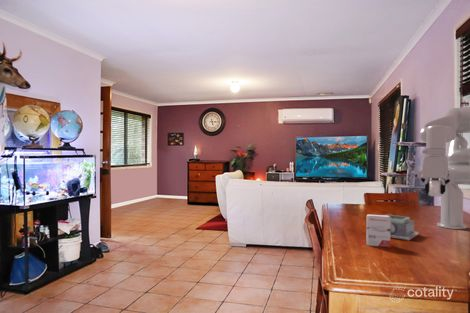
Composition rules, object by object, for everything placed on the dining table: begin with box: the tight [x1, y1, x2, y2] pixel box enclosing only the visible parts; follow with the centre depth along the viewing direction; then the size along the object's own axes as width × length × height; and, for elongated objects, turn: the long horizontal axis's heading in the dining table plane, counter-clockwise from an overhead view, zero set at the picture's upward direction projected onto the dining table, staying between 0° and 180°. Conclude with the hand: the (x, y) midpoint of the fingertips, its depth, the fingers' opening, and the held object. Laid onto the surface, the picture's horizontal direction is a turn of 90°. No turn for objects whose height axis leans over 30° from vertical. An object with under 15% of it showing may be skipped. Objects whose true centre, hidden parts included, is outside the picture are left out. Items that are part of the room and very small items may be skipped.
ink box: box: [365, 214, 392, 248], centre depth 132 cm, size 9×5×12 cm, turn 71°
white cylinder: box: [428, 178, 442, 198], centre depth 149 cm, size 5×5×8 cm
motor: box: [385, 214, 419, 241], centre depth 151 cm, size 16×16×8 cm
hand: (435, 193), depth 149 cm, fingers closed on white cylinder, 5 cm apart
